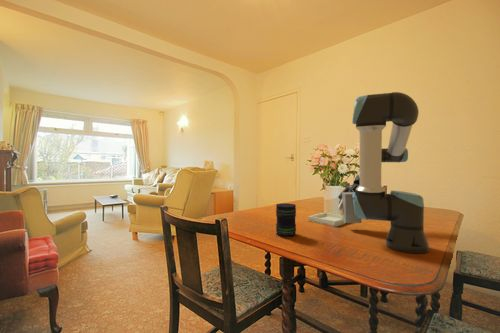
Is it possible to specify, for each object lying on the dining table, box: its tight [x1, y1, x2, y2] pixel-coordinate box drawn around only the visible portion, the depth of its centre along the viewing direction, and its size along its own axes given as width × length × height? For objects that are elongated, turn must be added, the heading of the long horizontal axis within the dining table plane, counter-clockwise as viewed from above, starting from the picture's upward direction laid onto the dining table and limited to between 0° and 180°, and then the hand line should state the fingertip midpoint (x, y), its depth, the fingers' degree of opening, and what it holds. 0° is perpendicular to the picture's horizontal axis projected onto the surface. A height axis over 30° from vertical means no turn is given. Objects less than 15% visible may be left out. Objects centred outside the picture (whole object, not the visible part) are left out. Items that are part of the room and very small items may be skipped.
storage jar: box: [275, 202, 297, 238], centre depth 119 cm, size 10×10×15 cm
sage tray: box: [307, 212, 345, 228], centre depth 146 cm, size 18×18×3 cm
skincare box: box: [341, 191, 362, 224], centre depth 127 cm, size 8×7×16 cm
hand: (348, 210), depth 125 cm, fingers closed on skincare box, 10 cm apart
